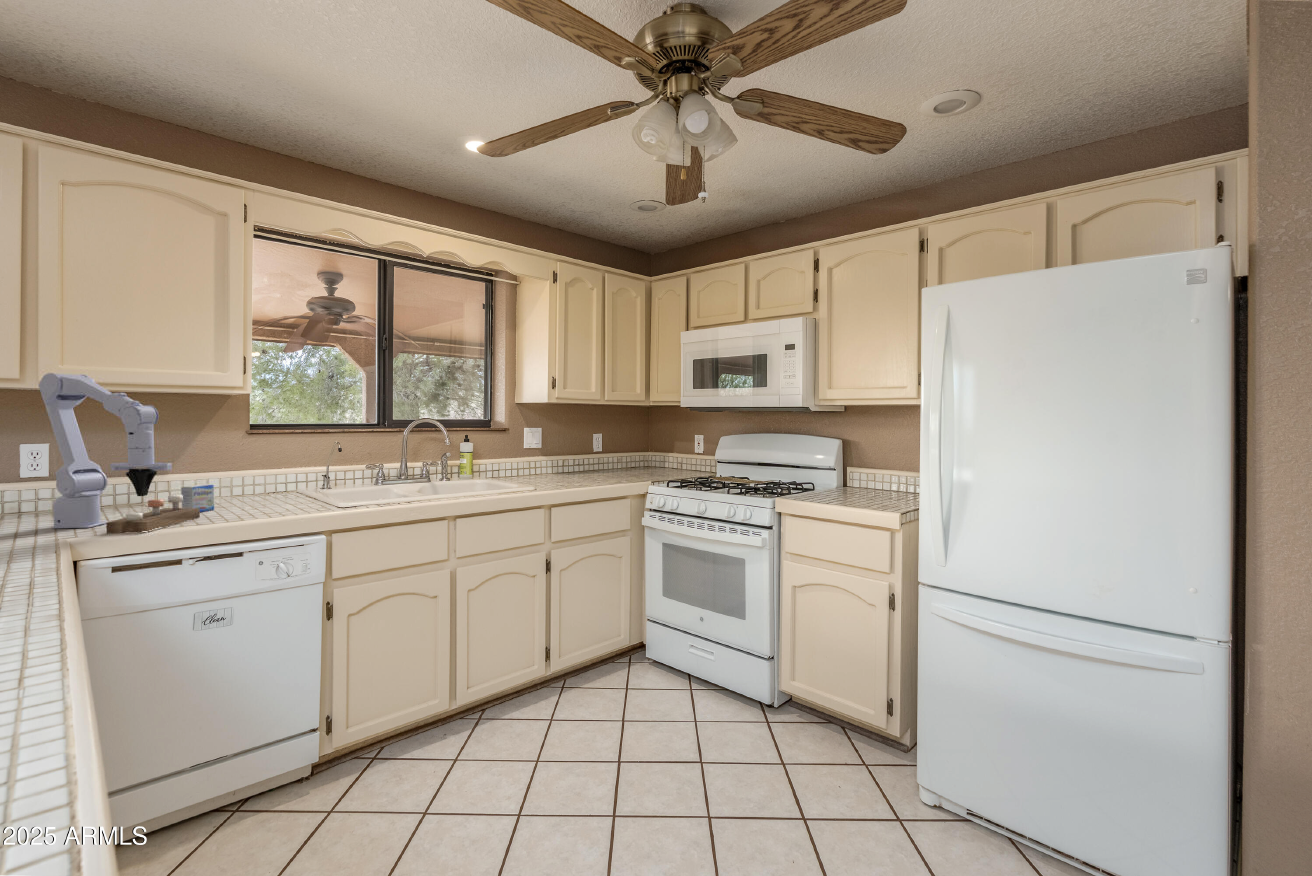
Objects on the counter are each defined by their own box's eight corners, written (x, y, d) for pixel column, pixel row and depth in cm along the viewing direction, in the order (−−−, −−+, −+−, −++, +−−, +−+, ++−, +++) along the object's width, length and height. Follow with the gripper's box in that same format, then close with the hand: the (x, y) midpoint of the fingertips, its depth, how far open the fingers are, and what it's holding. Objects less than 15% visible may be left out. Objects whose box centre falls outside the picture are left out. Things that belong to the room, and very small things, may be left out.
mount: (106, 533, 166) (106, 522, 166) (164, 517, 190) (164, 508, 189) (147, 532, 167) (146, 521, 167) (199, 517, 191) (199, 507, 191)
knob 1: (122, 531, 168) (122, 515, 167) (132, 528, 171) (131, 512, 171) (137, 531, 168) (136, 514, 168) (146, 528, 172) (145, 512, 171)
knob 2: (165, 511, 185) (165, 496, 185) (173, 509, 189) (172, 495, 189) (178, 511, 186) (178, 496, 185) (185, 509, 189) (185, 494, 189)
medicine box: (192, 513, 198) (192, 487, 197) (181, 513, 198) (180, 486, 198) (214, 509, 205) (214, 484, 205) (203, 509, 206) (203, 483, 206)
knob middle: (145, 516, 176) (144, 501, 176) (153, 514, 180) (153, 499, 180) (158, 516, 177) (158, 501, 177) (166, 514, 180) (166, 499, 180)
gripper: (101, 448, 167) (103, 498, 168) (159, 449, 169) (160, 497, 170) (120, 447, 174) (122, 494, 175) (176, 447, 176) (177, 494, 177)
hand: (142, 495), depth 173 cm, fingers closed
